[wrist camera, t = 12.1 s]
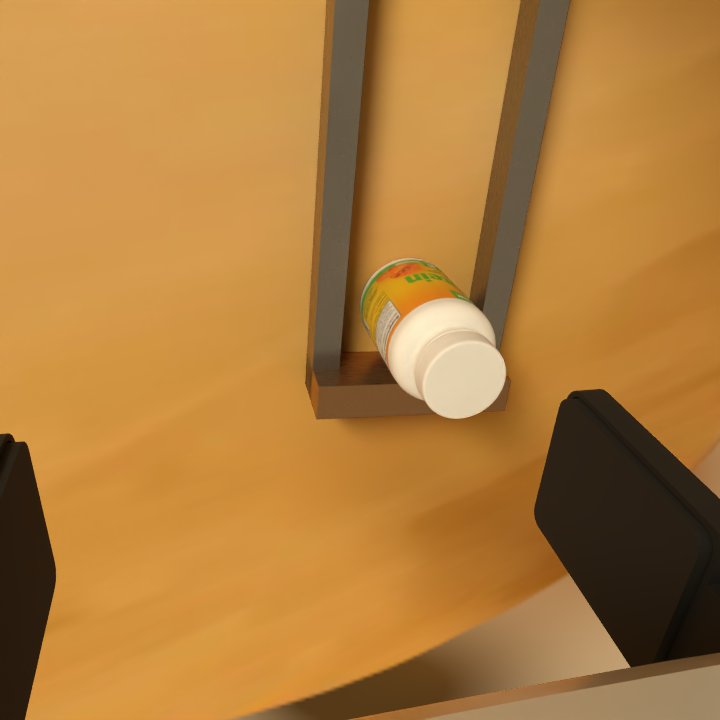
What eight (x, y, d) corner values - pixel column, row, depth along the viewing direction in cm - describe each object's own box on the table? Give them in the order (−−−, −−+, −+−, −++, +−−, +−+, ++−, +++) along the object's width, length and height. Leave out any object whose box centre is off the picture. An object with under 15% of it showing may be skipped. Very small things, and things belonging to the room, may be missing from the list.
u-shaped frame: (336, -170, 27) (357, -199, 23) (573, -128, 29) (625, -148, 26) (305, 383, 38) (316, 419, 35) (477, 377, 41) (504, 410, 37)
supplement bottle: (461, 266, 37) (540, 337, 28) (430, 349, 39) (496, 438, 31) (373, 246, 35) (430, 316, 27) (347, 334, 37) (392, 425, 29)
